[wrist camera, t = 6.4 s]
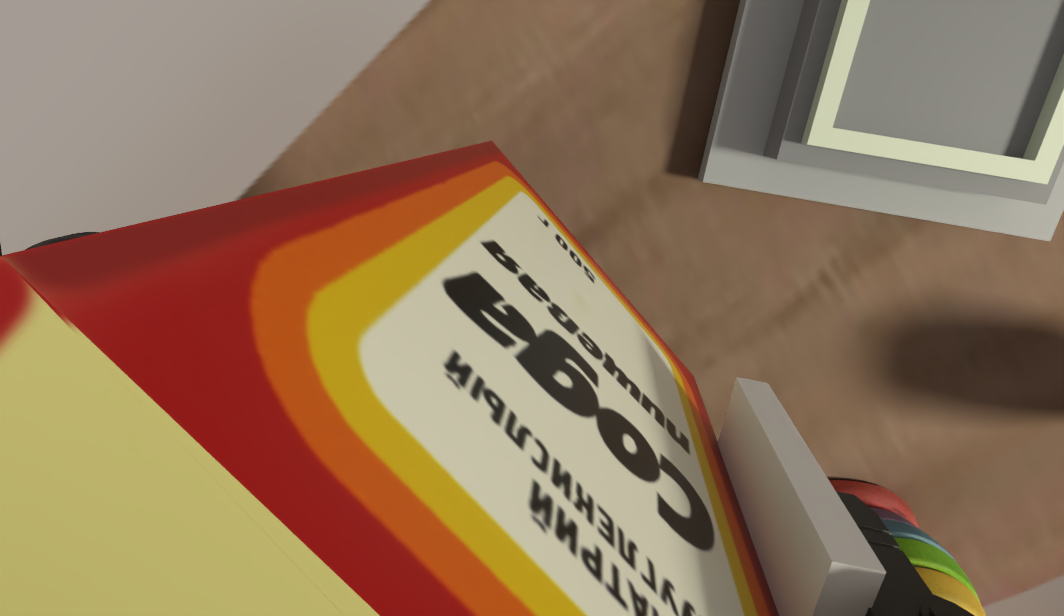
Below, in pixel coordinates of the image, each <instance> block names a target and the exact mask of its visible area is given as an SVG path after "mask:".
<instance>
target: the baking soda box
mask: <svg viewBox="0 0 1064 616" xmlns="http://www.w3.org/2000/svg"><path fill="white" fill-rule="evenodd" d="M0 616H779V614H778V611H777V608H776V606H775V603H774V600H773V597H772V594H771V592H770V589H769V586H768V583H767V580H766V578H765V575H764V572H763V569H762V566H761V564H760V561H759V558H758V555H757V553H756V550H755V547H754V544H753V541H752V539H751V536H750V533H749V530H748V527H747V525H746V522H745V519H744V516H743V514H742V511H741V508H740V505H739V502H738V500H737V497H736V494H735V491H734V488H733V486H732V483H731V480H730V477H729V474H728V472H727V469H726V466H725V463H724V461H723V458H722V455H721V452H720V449H719V447H718V442H717V439H716V436H715V434H714V431H713V428H712V425H711V423H710V420H709V417H708V414H707V412H706V409H705V406H704V403H703V400H702V398H701V395H700V392H699V389H698V387H697V384H696V381H695V378H694V376H693V375H692V374H691V373H690V372H689V370H688V369H687V368H686V367H685V366H684V365H683V363H682V362H681V361H680V360H679V359H678V357H677V356H676V355H675V354H674V353H673V352H672V350H671V349H670V348H669V347H668V346H667V345H666V343H665V342H664V341H663V340H662V339H661V338H660V336H659V335H658V334H657V333H656V332H655V331H654V329H653V328H652V327H651V326H650V325H649V324H648V322H647V321H646V320H645V319H644V318H643V317H642V315H641V314H640V313H639V312H638V311H637V310H636V308H635V307H634V306H633V305H632V304H631V303H630V301H629V300H628V299H627V298H626V297H625V296H624V294H623V293H622V292H621V291H620V290H619V289H618V287H617V286H616V285H615V284H614V283H613V282H612V280H611V279H610V278H609V277H608V276H607V275H606V273H605V272H604V271H603V270H602V269H601V268H600V266H599V265H598V264H597V263H596V262H595V261H594V259H593V258H592V257H591V256H590V255H589V254H588V252H587V251H586V250H585V249H584V248H583V247H582V245H581V244H580V243H579V242H578V241H577V240H576V238H575V237H574V236H573V235H572V234H571V233H570V231H569V230H568V229H567V228H566V227H565V226H564V224H563V223H562V222H561V221H560V220H559V219H558V217H557V216H556V215H555V214H554V213H553V212H552V210H551V209H550V208H549V207H548V206H547V205H546V203H545V202H544V201H543V200H542V199H541V198H540V196H539V195H538V194H537V193H536V192H535V191H534V189H533V188H532V187H531V186H530V185H529V184H528V182H527V181H526V180H525V179H524V178H523V177H522V175H521V174H520V173H519V172H518V171H517V170H516V168H515V167H514V166H513V165H512V164H511V163H510V161H509V160H508V159H507V158H506V157H505V156H504V154H503V153H502V152H501V151H500V150H499V149H498V147H497V146H496V145H495V144H494V143H493V142H492V141H489V142H485V143H480V144H476V145H472V146H467V147H463V148H459V149H455V150H450V151H446V152H442V153H438V154H433V155H429V156H425V157H421V158H416V159H412V160H408V161H403V162H399V163H395V164H391V165H386V166H382V167H378V168H374V169H369V170H365V171H361V172H357V173H352V174H348V175H344V176H339V177H335V178H331V179H327V180H322V181H318V182H314V183H310V184H305V185H301V186H297V187H293V188H288V189H284V190H280V191H276V192H271V193H267V194H263V195H258V196H254V197H250V198H246V199H241V200H237V201H233V202H229V203H224V204H220V205H216V206H212V207H207V208H203V209H199V210H194V211H190V212H186V213H182V214H177V215H173V216H169V217H165V218H160V219H156V220H152V221H148V222H143V223H139V224H135V225H130V226H126V227H122V228H118V229H114V230H109V231H105V232H101V233H96V234H92V235H88V236H84V237H79V238H75V239H71V240H67V241H62V242H58V243H54V244H49V245H45V246H41V247H37V248H32V249H28V250H24V251H20V252H15V253H11V254H7V255H3V256H1V257H0Z"/></svg>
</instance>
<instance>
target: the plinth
mask: <svg viewBox="0 0 1064 616" xmlns="http://www.w3.org/2000/svg"><path fill="white" fill-rule="evenodd" d="M698 179H699V180H701V181H702V182H706V183H712V184H718V185H724V186H730V187H736V188H741V189H747V190H753V191H759V192H765V193H771V194H777V195H782V196H788V197H794V198H800V199H806V200H812V201H818V202H823V203H829V204H835V205H841V206H847V207H853V208H858V209H864V210H870V211H876V212H882V213H888V214H894V215H899V216H905V217H911V218H917V219H923V220H929V221H935V222H940V223H946V224H952V225H958V226H964V227H970V228H976V229H981V230H987V231H993V232H999V233H1005V234H1011V235H1017V236H1022V237H1028V238H1034V239H1040V240H1046V241H1051V238H1052V236H1053V233H1054V231H1055V229H1056V226H1057V224H1058V222H1059V219H1060V217H1061V214H1062V212H1063V210H1064V0H740V3H739V7H738V12H737V16H736V20H735V24H734V28H733V33H732V37H731V41H730V45H729V50H728V54H727V58H726V62H725V66H724V71H723V75H722V79H721V83H720V87H719V92H718V96H717V100H716V104H715V109H714V113H713V117H712V121H711V125H710V130H709V134H708V138H707V142H706V147H705V151H704V155H703V159H702V163H701V168H700V172H699V176H698Z"/></svg>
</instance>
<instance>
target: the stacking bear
mask: <svg viewBox="0 0 1064 616" xmlns="http://www.w3.org/2000/svg"><path fill="white" fill-rule="evenodd" d="M829 481H830V483H831V485H832V486H833V488H834V489H835V491H837V492H842V493H847V494H853V495H855V496H857V497H858V498H859V499H860V500H861V501H863V502H864V503H865V504H866V505H867V506H869V507H870V508H871V509H872V510H874V511H875V512H876V513H877V514H878V516H879V517H880V519H881V520H882V522H883V523H884V524H885V526H886V527H887V529H888V530H889V535H892V536H893V537H894V539H895V540H896V542H897V543H898V545H899V546H900V550H902V551H903V552H904V553H905V555H906V556H907V558H908V559H909V560H910V562H911V563H912V565H913V566H914V568H915V569H916V571H917V572H918V573H919V575H920V576H921V578H922V579H923V581H924V582H925V583H926V585H927V586H928V588H929V589H930V591H931V592H932V594H933V595H937V596H939V597H941V598H944V599H946V600H948V601H951V602H953V603H955V604H957V605H959V606H960V607H962V608H963V609H965V610H967V611H968V612H970V613H971V614H973V615H974V616H986V614H985V612H984V610H983V608H982V606H981V604H980V601H979V598H978V596H977V594H976V592H975V590H974V588H973V586H972V584H971V583H970V581H969V579H968V578H967V576H966V574H965V573H964V571H963V570H962V569H961V567H960V566H959V565H958V564H957V562H956V561H955V560H954V558H953V557H952V556H951V555H950V554H949V553H948V552H947V551H946V550H945V549H944V548H943V547H942V546H941V545H940V544H939V543H937V542H936V541H935V540H934V539H933V538H931V537H930V536H929V535H927V534H926V533H925V532H923V531H922V530H920V529H919V526H918V523H917V521H916V518H915V516H914V514H913V512H912V511H911V509H910V508H909V506H908V505H907V504H906V503H905V502H904V501H903V500H902V499H901V498H900V497H899V496H897V495H896V494H894V493H893V492H891V491H889V490H887V489H885V488H883V487H881V486H877V485H874V484H869V483H864V482H858V481H848V480H829Z"/></svg>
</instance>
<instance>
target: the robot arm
mask: <svg viewBox="0 0 1064 616" xmlns="http://www.w3.org/2000/svg"><path fill="white" fill-rule="evenodd" d="M96 233H99V232H84V233H77V234H71V235H67V236H63V237H58V238H54V239H50V240H46V241H43V242H41V243H38V244H35V245H33V246H31V247H29V248H27V249H26V250H28V249H32V248H37V247H41V246H45V245H49V244H54V243H58V242H62V241H67V240H71V239H75V238H79V237H84V236H88V235H92V234H96ZM1 256H2V253H1V245H0V257H1ZM718 447H719V449H720V452H721V455H722V458H723V461H724V463H725V466H726V469H727V472H728V474H729V477H730V480H731V483H732V486H733V488H734V491H735V494H736V497H737V500H738V502H739V505H740V508H741V511H742V514H743V516H744V519H745V522H746V525H747V527H748V530H749V533H750V536H751V539H752V541H753V544H754V547H755V550H756V553H757V555H758V558H759V561H760V564H761V566H762V569H763V572H764V575H765V578H766V580H767V583H768V586H769V589H770V592H771V594H772V597H773V600H774V603H775V606H776V608H777V611H778V614H779V616H974V615H973V614H971V613H970V612H968V611H967V610H965V609H963V608H962V607H960V606H959V605H957V604H955V603H953V602H951V601H948V600H946V599H944V598H941V597H939V596H937V595H933V594H932V592H931V591H930V589H929V588H928V586H927V585H926V583H925V582H924V581H923V579H922V578H921V576H920V575H919V573H918V572H917V571H916V569H915V568H914V566H913V565H912V563H911V562H910V560H909V559H908V558H907V556H906V555H905V553H904V552H903V551H902V550H900V546H899V545H898V543H897V542H896V540H895V539H894V537H893V536H892V535H889V530H888V529H887V527H886V526H885V524H884V523H883V522H882V520H881V519H880V517H879V516H878V514H877V513H876V512H875V511H874V510H872V509H871V508H870V507H869V506H867V505H866V504H865V503H864V502H863V501H861V500H860V499H859V498H858V497H857V496H855V495H853V494H847V493H842V492H837V491H835V489H834V488H833V486H832V485H831V483H830V481H829V480H828V478H827V477H826V475H825V473H824V472H823V470H822V469H821V467H820V465H819V464H818V462H817V461H816V459H815V458H814V456H813V454H812V453H811V451H810V450H809V448H808V446H807V445H806V443H805V442H804V440H803V438H802V437H801V435H800V434H799V432H798V430H797V429H796V427H795V426H794V424H793V422H792V421H791V419H790V418H789V416H788V414H787V413H786V411H785V410H784V408H783V406H782V405H781V403H780V402H779V400H778V399H777V397H776V395H775V394H774V392H773V391H772V389H771V387H770V386H769V384H768V383H765V382H759V381H754V380H749V379H743V378H738V377H736V380H735V384H734V387H733V391H732V394H731V398H730V401H729V405H728V408H727V412H726V415H725V419H724V423H723V426H722V430H721V433H720V437H719V440H718Z"/></svg>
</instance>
